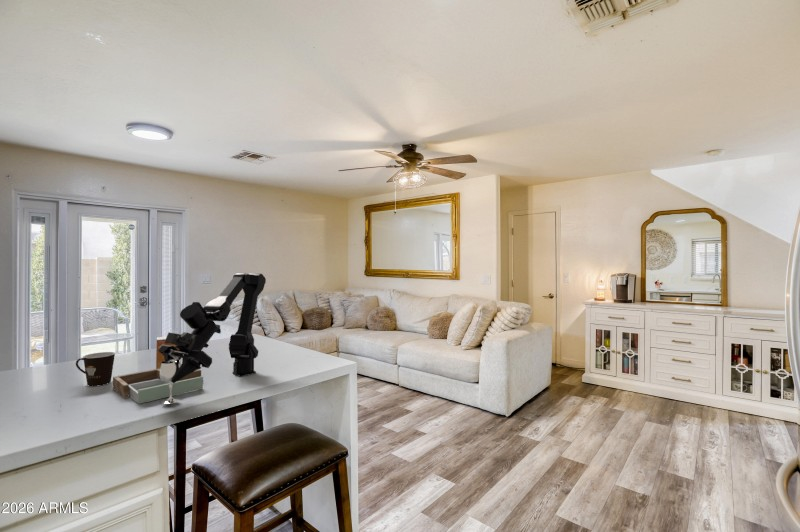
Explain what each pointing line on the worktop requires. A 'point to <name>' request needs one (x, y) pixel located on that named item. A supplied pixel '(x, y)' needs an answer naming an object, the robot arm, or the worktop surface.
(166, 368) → the wineglass
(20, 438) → the worktop surface
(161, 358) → the small box
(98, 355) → the coffee mug
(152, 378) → the divided wooden organizer
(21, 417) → the worktop surface
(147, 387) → the tray
